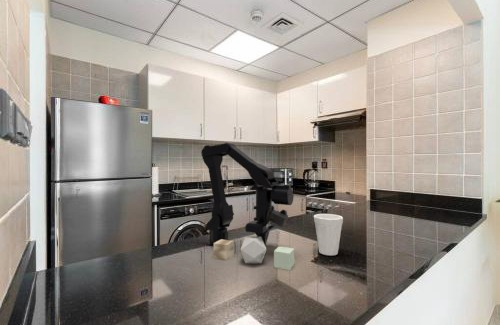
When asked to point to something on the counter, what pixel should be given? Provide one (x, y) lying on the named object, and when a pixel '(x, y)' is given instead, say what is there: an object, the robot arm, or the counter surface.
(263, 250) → the die
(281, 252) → the sage block
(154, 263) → the counter surface
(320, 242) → the cup
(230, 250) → the birch block
